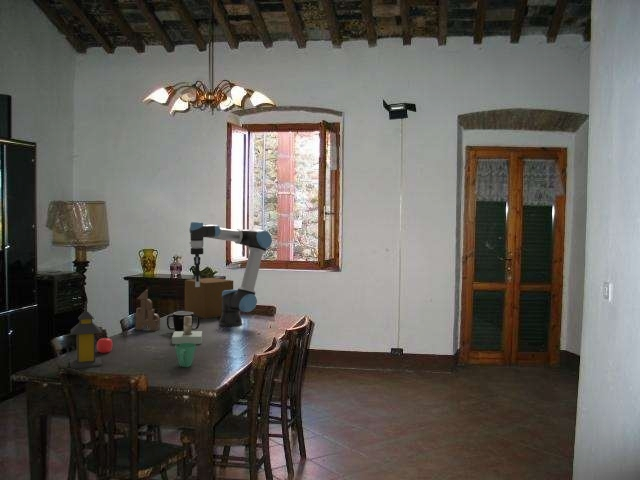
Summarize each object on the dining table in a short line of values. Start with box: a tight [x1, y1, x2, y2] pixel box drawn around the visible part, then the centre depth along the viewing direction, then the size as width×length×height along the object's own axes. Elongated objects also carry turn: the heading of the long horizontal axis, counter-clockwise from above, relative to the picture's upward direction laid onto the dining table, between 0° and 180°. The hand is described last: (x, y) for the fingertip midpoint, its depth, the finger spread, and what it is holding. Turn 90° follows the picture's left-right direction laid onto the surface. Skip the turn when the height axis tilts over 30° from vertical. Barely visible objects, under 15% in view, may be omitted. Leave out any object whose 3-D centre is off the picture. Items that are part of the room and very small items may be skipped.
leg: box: [184, 316, 193, 335], centre depth 345 cm, size 4×4×14 cm
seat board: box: [171, 330, 203, 345], centre depth 345 cm, size 16×16×4 cm
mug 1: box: [166, 311, 201, 331], centre depth 369 cm, size 16×16×12 cm
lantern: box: [69, 301, 103, 369], centre depth 289 cm, size 14×14×30 cm
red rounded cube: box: [96, 336, 114, 354], centre depth 315 cm, size 8×8×8 cm
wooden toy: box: [134, 289, 161, 332], centre depth 377 cm, size 16×7×25 cm, turn 81°
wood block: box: [184, 277, 234, 320], centre depth 435 cm, size 25×25×25 cm
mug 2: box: [174, 343, 197, 368], centre depth 287 cm, size 15×10×10 cm
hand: (197, 286), depth 363 cm, fingers closed
